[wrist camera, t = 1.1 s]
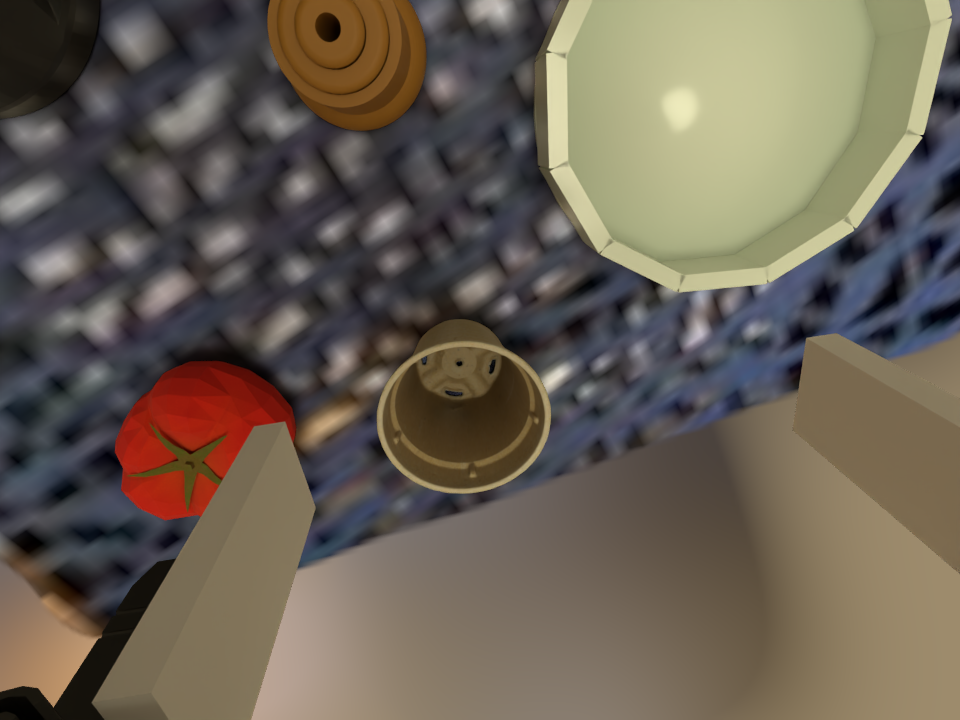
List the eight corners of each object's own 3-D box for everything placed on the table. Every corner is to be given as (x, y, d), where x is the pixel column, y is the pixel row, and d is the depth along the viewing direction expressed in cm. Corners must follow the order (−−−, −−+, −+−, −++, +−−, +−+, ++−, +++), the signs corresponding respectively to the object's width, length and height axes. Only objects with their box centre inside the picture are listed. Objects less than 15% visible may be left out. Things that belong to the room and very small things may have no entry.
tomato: (324, 390, 36) (300, 440, 30) (262, 500, 39) (229, 566, 33) (186, 322, 33) (129, 363, 27) (132, 447, 37) (70, 507, 31)
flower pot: (512, 278, 34) (533, 322, 26) (539, 402, 37) (564, 473, 29) (373, 313, 34) (352, 366, 26) (413, 431, 38) (405, 509, 30)
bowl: (464, 48, 28) (468, 33, 24) (804, -223, 25) (876, -295, 21) (632, 327, 35) (657, 352, 31) (914, 148, 32) (984, 149, 28)
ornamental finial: (386, -55, 26) (449, 95, 29) (260, 14, 27) (334, 153, 30) (363, -130, 19) (451, 80, 22) (191, -32, 20) (298, 158, 23)
